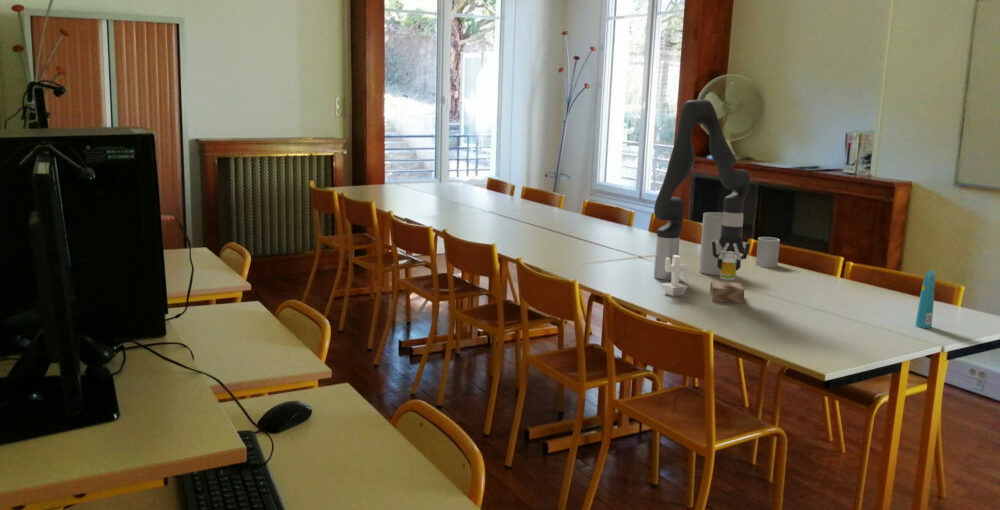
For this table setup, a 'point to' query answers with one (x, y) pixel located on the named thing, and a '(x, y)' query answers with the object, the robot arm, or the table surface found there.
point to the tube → (926, 301)
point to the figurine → (675, 276)
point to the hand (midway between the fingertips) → (728, 269)
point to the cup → (767, 252)
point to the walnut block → (727, 292)
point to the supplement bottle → (728, 266)
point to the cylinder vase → (710, 233)
